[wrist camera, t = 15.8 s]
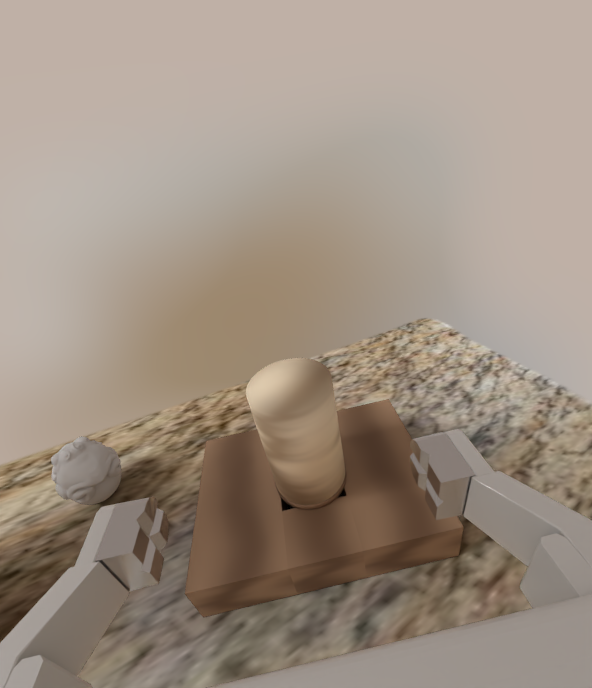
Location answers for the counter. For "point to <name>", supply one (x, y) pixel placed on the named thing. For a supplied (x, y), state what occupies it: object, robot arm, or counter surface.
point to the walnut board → (311, 519)
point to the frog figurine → (86, 471)
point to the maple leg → (299, 431)
